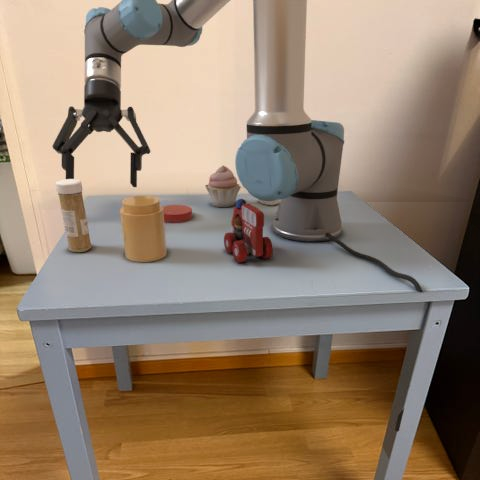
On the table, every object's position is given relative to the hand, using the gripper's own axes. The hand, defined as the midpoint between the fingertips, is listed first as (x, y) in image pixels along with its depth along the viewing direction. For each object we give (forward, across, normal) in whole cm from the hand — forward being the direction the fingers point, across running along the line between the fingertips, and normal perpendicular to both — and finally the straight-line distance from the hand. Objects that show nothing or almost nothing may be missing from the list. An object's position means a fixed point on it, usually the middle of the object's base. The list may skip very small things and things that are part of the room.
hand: (101, 185), depth 96 cm
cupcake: (-2, +25, +23) cm, 34 cm away
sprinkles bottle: (+15, -3, -5) cm, 16 cm away
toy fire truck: (+16, +31, -6) cm, 35 cm away
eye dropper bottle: (-3, +37, +25) cm, 45 cm away
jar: (+16, +11, -7) cm, 21 cm away
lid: (+2, +14, +12) cm, 19 cm away
